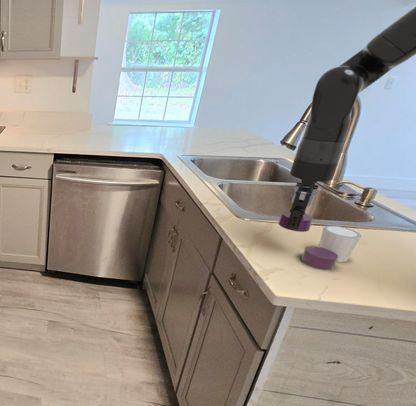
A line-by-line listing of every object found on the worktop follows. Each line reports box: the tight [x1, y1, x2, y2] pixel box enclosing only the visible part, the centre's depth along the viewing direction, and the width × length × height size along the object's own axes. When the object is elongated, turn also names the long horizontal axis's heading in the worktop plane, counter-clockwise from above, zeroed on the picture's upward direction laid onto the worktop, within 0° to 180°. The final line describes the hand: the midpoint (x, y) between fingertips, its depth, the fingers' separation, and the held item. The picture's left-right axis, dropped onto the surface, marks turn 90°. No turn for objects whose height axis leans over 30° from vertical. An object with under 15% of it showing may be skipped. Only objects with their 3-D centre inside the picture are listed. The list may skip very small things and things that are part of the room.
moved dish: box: [277, 210, 314, 233], centre depth 90 cm, size 6×6×3 cm
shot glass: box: [318, 225, 362, 263], centre depth 90 cm, size 7×7×7 cm
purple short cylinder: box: [300, 245, 338, 271], centre depth 89 cm, size 6×6×3 cm
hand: (294, 223), depth 90 cm, fingers closed on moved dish, 6 cm apart
